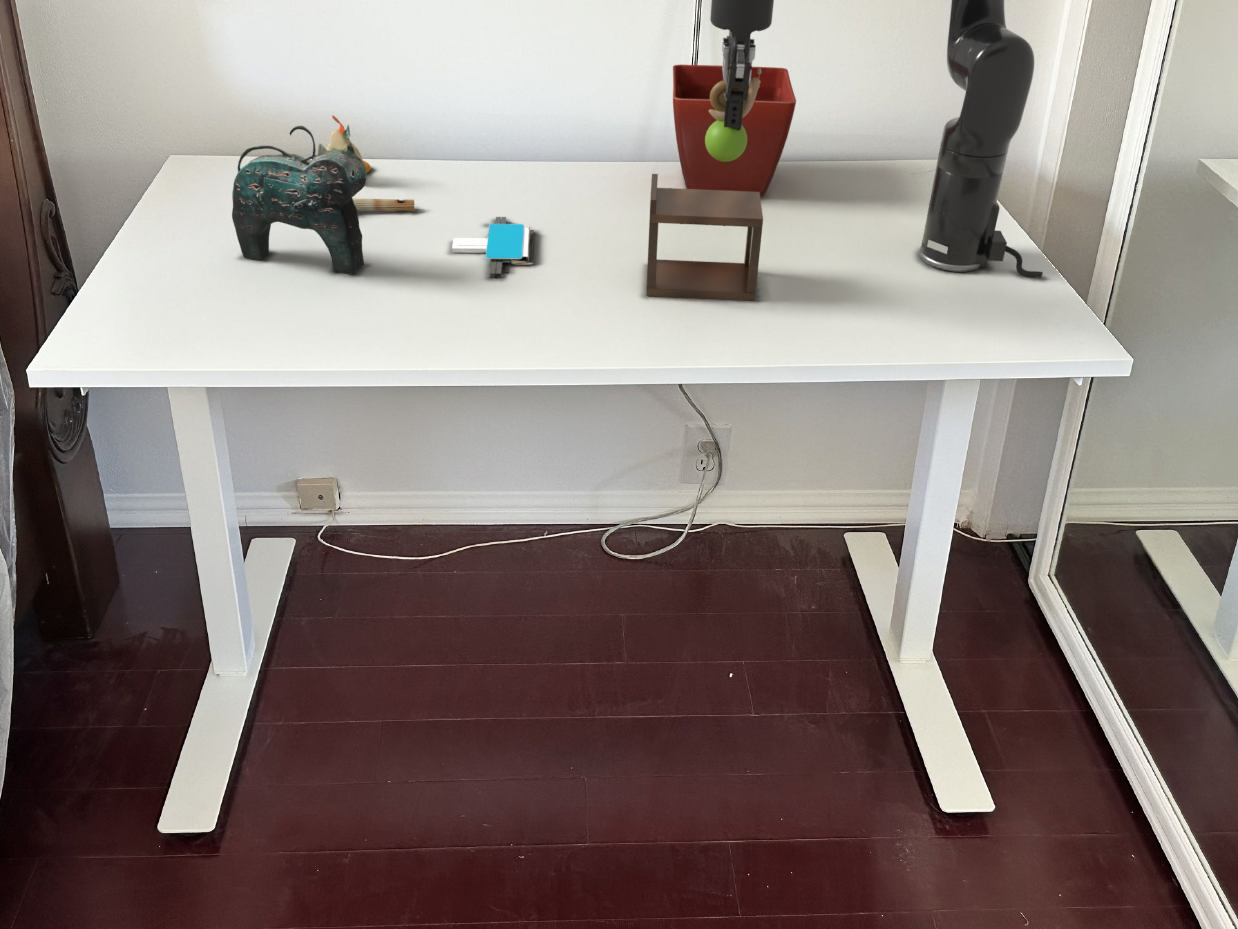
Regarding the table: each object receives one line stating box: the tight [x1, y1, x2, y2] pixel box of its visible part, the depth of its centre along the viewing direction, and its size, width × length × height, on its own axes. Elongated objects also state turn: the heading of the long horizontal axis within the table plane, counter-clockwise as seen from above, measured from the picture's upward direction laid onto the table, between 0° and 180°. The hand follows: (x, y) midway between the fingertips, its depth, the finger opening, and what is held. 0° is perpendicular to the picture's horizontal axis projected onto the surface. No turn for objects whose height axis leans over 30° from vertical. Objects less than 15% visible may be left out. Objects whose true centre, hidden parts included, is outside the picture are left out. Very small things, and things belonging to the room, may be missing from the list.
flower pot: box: [672, 64, 797, 197], centre depth 192 cm, size 19×19×17 cm
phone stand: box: [451, 216, 535, 278], centre depth 173 cm, size 20×12×2 cm, turn 3°
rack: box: [645, 173, 764, 302], centre depth 161 cm, size 15×10×14 cm, turn 87°
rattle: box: [325, 115, 372, 174], centre depth 191 cm, size 8×8×12 cm
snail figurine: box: [705, 68, 761, 162], centre depth 150 cm, size 5×6×12 cm
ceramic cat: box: [231, 125, 368, 275], centre depth 161 cm, size 20×6×20 cm, turn 74°
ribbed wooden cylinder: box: [352, 197, 415, 212], centre depth 182 cm, size 4×3×20 cm
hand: (731, 126), depth 150 cm, fingers closed on snail figurine
